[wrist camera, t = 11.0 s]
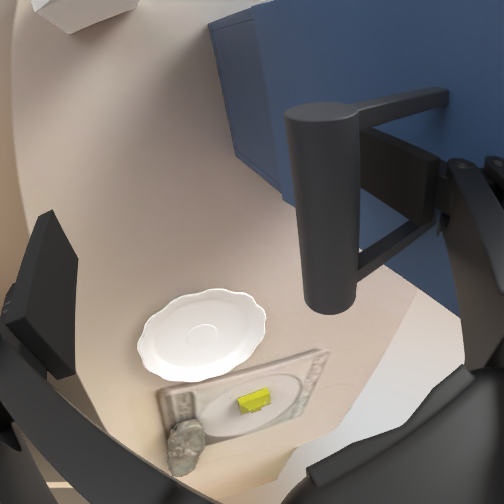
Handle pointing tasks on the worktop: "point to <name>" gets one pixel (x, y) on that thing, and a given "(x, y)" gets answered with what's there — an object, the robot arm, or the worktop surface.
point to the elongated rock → (185, 447)
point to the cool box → (245, 93)
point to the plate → (202, 335)
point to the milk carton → (80, 11)
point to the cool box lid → (376, 125)
